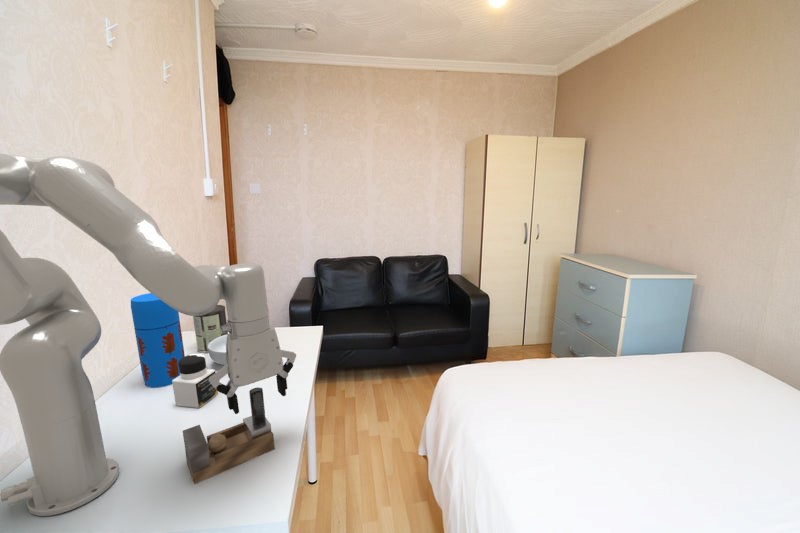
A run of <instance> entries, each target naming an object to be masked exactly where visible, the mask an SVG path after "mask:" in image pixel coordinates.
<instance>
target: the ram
mask: <svg viewBox="0 0 800 533" xmlns="http://www.w3.org/2000/svg"><path fill="white" fill-rule="evenodd" d="M248 393H249V400H250V411H251V412H250V413H251V415H250V416H248V417H245V418H243V419H242V423H243V424H244V431H245V433H246V435H247V436H248V438H249V440H253V439H255V438H258V437H260V436H263V435H265V434H267V433H270V432H273V430H272V423H270V421H269V420H268V418H267V417H266V411H265V410H266V409H265V401H264V390H263V388H262V387H260V386H259V387H254V388H251V389H250V390H249V392H248Z"/></svg>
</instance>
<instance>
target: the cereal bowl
mask: <svg viewBox="0 0 800 533" xmlns="http://www.w3.org/2000/svg"><path fill="white" fill-rule="evenodd" d="M228 334H229V333H228ZM228 334H227V335H228ZM227 335H223V336H221V337H218V338H216V339H214V340H213V341H211V342H210V343H209V344H208V352H209V353H208V355H209V357H210V359H211V360H212V361H213V362H214V363H217V364H219V365H221V366H225V365H226V364H227V362H226V341H227Z"/></svg>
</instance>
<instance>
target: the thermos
mask: <svg viewBox="0 0 800 533" xmlns="http://www.w3.org/2000/svg"><path fill="white" fill-rule="evenodd" d="M130 309H131V316H132V321H133V322H132V323H133V328H134V333H135V340H136V345H137V352H138V357H139V364H140V369H141V375H142V378H143V384H144V385H145V386H146V387H148V388H151V389H152V388H154V389H155V388H163V387H168V386H170V385H173V384H172V380H173V379H175V378H177V377H178V376H180V371H179V364H178V362H179V360H180V359H182V358H183V357H185V350H184V341H183V335H182V327H181V322H180V312H178V311H176V310H175V309H173V308H172V307H170V306H169V305H167V304H166V303H164V302H163V301H162V300H160V299H159V298H157V297H156V296H155V295H153V294H152V293H151V292H149V293H148V292H147V293H144V294H139V295H136V296H133V297H132V298H130Z"/></svg>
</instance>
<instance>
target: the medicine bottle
mask: <svg viewBox="0 0 800 533" xmlns="http://www.w3.org/2000/svg"><path fill="white" fill-rule="evenodd" d="M178 364H179V371H180V376H178V377H177V378H175V379H173V380H172V384H171V385H172V389H173V396H174V402H175V406H178V407H187V408H194V409H200V408H202V407H203V406H204V405H205V404H207V403H208V402H209V401H210V400H212V399H213V398H214V397H216V396H217V395H218V394H219V392H218V391H217V390H216V389H215V388H214V387H213V386H212V385H211V384H210V382H209V380H208V379H209V378H210V377H211V376H212V375H213V374H215V373H216V370H215V369H210V368H207V360H206V356H205V355H204V354H203V353H202V354H201V353H191V354H188V355H186V356H185V357H183V358H182V359H180V360H179V362H178Z"/></svg>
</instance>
